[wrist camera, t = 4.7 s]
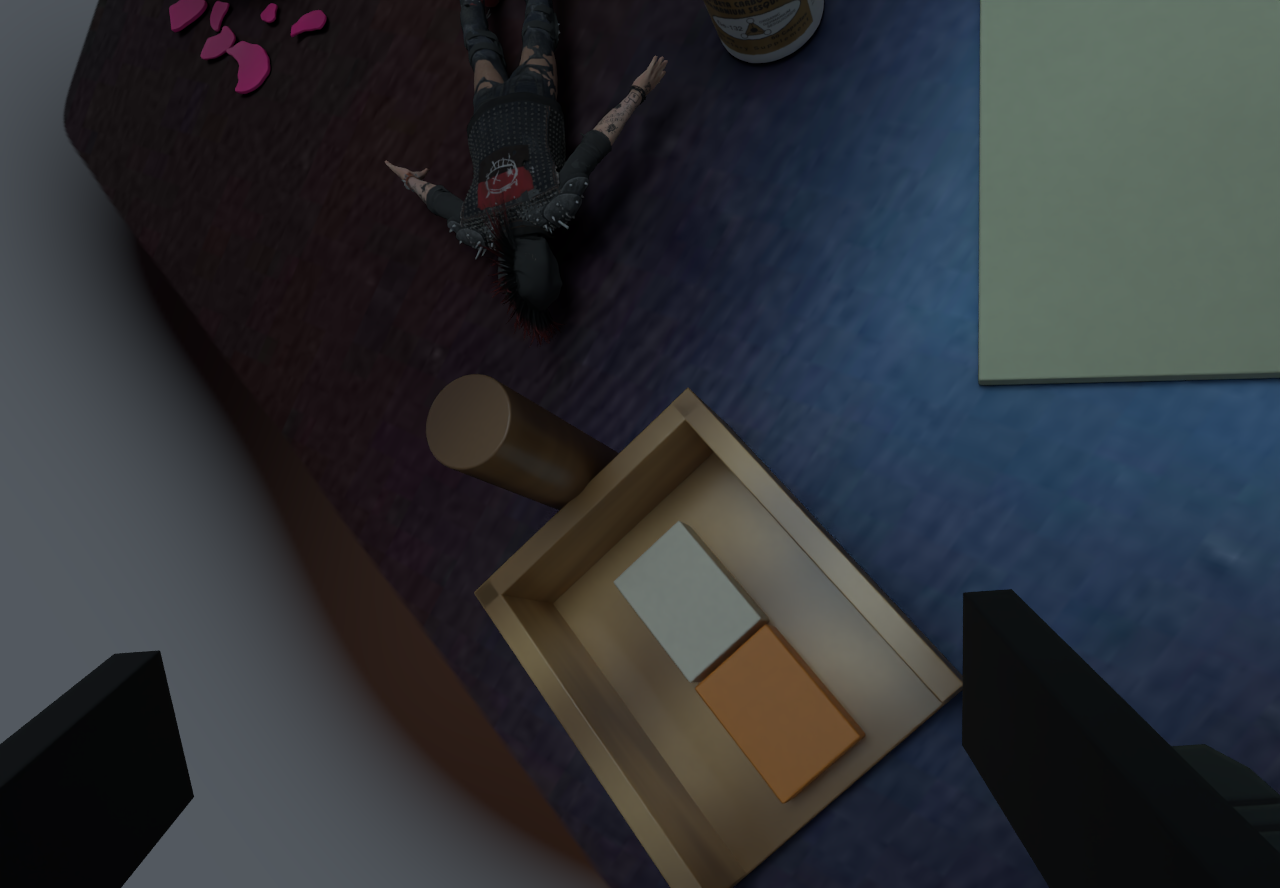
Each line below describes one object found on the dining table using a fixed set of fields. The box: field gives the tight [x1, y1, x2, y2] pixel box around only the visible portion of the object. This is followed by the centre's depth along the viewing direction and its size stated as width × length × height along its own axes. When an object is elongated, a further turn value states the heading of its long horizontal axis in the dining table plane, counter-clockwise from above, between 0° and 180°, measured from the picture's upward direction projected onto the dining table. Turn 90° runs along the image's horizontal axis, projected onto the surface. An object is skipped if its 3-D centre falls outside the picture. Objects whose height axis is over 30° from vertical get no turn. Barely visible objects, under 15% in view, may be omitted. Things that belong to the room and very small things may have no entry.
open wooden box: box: [426, 374, 963, 888], centre depth 26 cm, size 15×10×10 cm
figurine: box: [385, 0, 668, 347], centre depth 36 cm, size 13×6×20 cm
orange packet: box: [695, 624, 865, 804], centre depth 28 cm, size 4×3×1 cm
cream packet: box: [614, 521, 769, 683], centre depth 30 cm, size 4×3×1 cm
